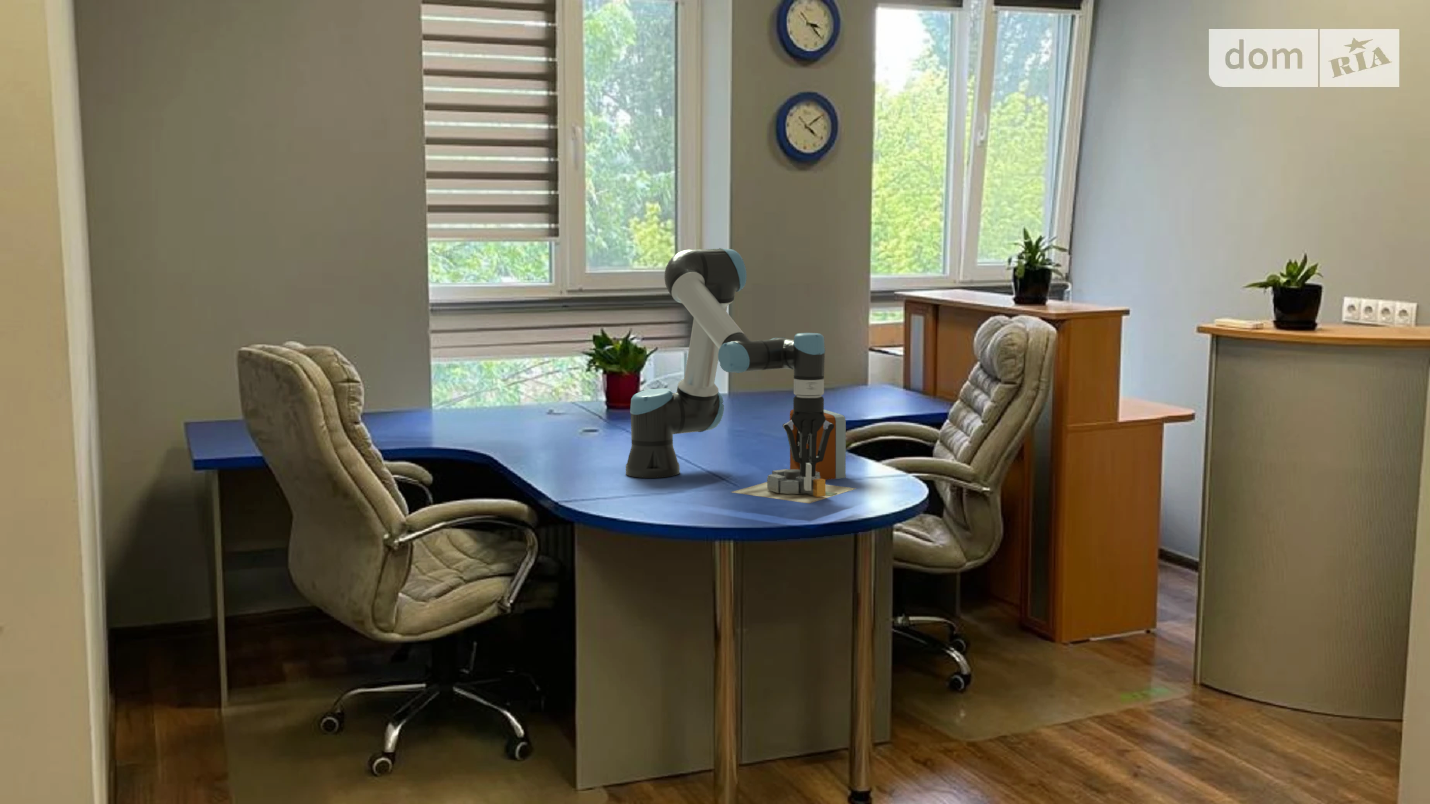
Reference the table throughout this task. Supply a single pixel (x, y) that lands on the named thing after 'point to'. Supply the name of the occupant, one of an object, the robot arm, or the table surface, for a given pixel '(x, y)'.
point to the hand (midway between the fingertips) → (807, 489)
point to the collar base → (804, 498)
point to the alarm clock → (835, 449)
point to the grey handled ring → (795, 484)
